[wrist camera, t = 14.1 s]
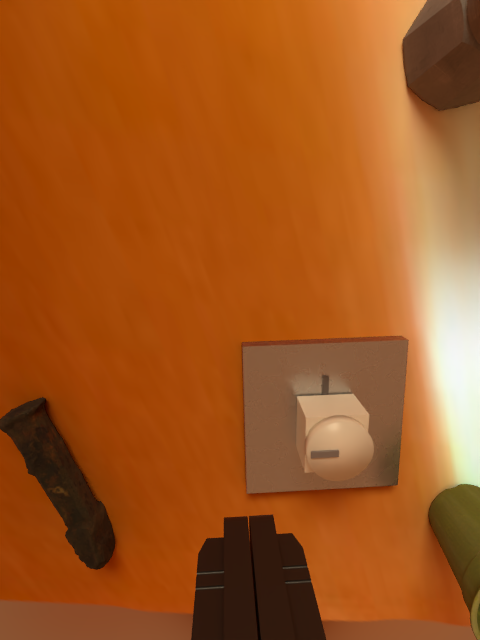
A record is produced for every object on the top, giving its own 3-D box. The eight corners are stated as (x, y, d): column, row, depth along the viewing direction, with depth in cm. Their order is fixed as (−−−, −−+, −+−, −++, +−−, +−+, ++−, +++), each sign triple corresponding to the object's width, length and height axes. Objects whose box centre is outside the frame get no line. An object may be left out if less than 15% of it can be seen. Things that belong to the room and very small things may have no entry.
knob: (354, 392, 35) (377, 422, 30) (351, 444, 37) (372, 480, 32) (295, 395, 35) (308, 425, 30) (295, 447, 37) (307, 484, 31)
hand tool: (11, 404, 36) (-19, 428, 32) (48, 391, 36) (23, 413, 32) (93, 549, 40) (76, 588, 36) (126, 538, 40) (113, 576, 36)
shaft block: (391, 476, 40) (414, 509, 35) (246, 484, 39) (249, 518, 34) (400, 335, 36) (428, 350, 31) (241, 342, 36) (244, 358, 31)
